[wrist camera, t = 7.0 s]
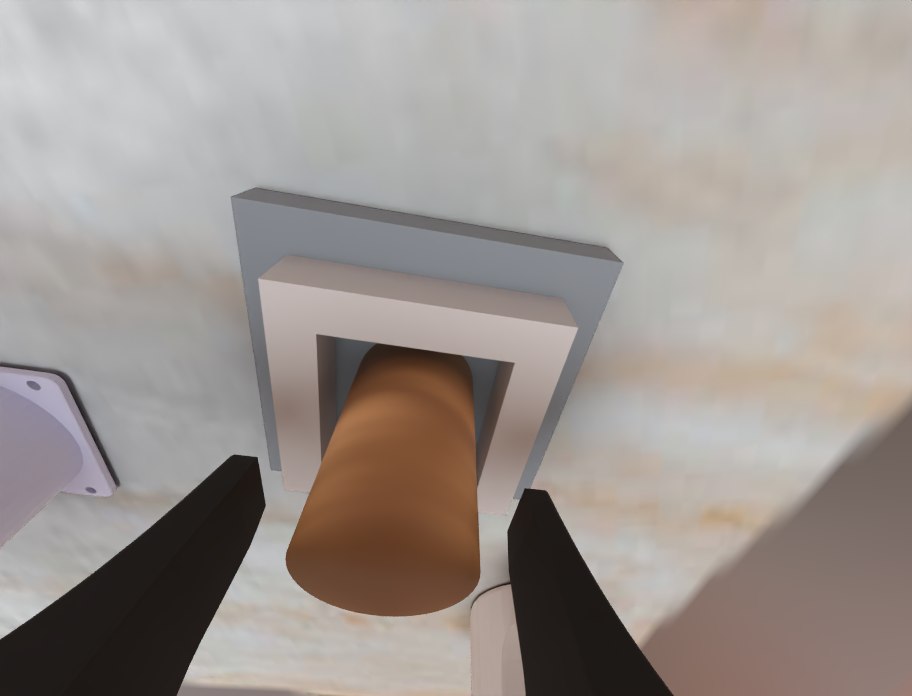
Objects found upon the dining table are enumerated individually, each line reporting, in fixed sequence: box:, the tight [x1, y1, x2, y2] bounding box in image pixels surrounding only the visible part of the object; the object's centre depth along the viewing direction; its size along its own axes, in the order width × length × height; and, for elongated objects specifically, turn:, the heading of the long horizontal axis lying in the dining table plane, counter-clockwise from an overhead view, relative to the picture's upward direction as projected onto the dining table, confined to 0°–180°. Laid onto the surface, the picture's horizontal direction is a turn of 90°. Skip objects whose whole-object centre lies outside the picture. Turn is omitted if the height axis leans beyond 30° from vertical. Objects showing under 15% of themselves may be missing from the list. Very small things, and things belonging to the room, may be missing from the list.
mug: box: [470, 584, 526, 696], centre depth 22 cm, size 12×8×10 cm, turn 15°
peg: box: [286, 343, 480, 616], centre depth 12 cm, size 4×4×7 cm
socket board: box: [231, 188, 623, 515], centre depth 14 cm, size 12×12×4 cm
